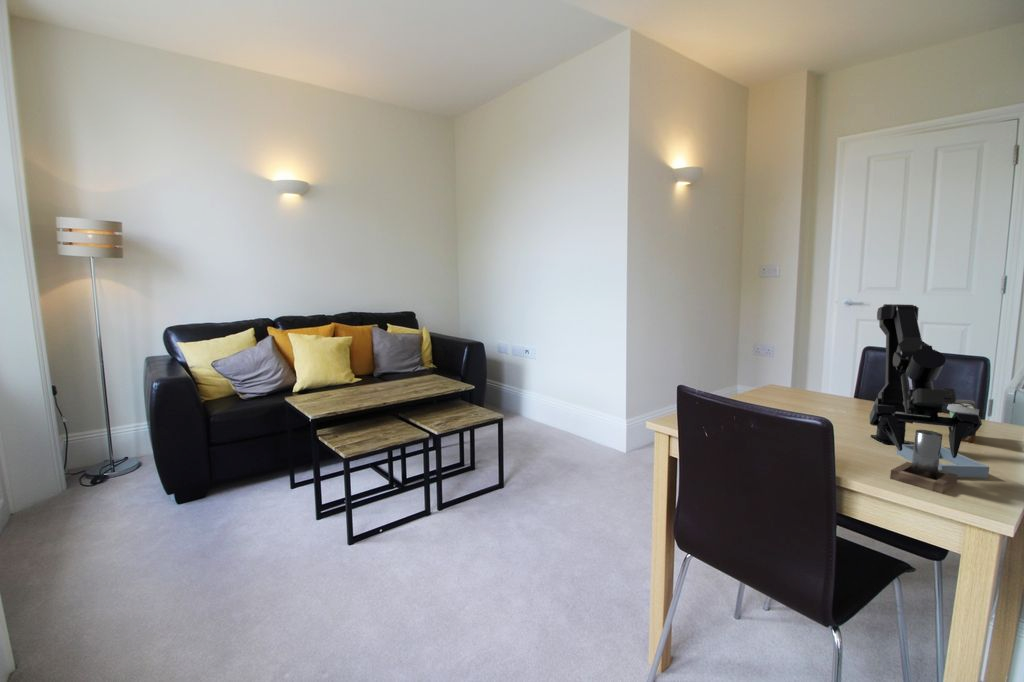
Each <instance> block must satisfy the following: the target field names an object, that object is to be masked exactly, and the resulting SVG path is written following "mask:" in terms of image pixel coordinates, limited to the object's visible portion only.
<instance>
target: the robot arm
mask: <svg viewBox="0 0 1024 682" xmlns="http://www.w3.org/2000/svg"><path fill="white" fill-rule="evenodd" d="M919 310H920V308H919V307H917V305H914V304H903V303H902V304H900V303H899V304H892V303H890V304H887V303H885V304H883V306H880V307H878V308H877V311H876V320H877V321H878V322H879V329H880V330H881V331H882V333H883V334H884V335H885V376H884V377H885V381H884V382H885V383H884V386H883V387H882V389H881V390H880V391H879V392H878V394H877V397H876V399H874V400H875V401H874V404H873V406H872V409H871V411H870V414H869V424H870V425H871V426H874V427H876V434H871V435H870V437H871V439H874V440H876V439H877V440H876V441H878V440H879V442H880V441H881V442H880V443H882V442H883V443H882V444H884V443H885V445H894V446H895V447H896V449H897V448H898V450H899V451H902V444H904V445H911V444H910V443H911V442H909V441H908V440H907V441H906V440H905V438H906V431H907V430H906V427H907V425H906V424H907V423H908V424H913V423H915V424H920V425H921V424H922V425H930V426H937V427H938V426H941V427H948V431H950V434H949V433H948V442H949V450H951V454H952V457H953V458H956V456H957V453H958V454H959V450H960V447H961V444H962V441H961V440H962V439H965V438H967V437H968V436H974V434H975V433H976V434H977V432H978V431H979V429H980V427H981V426H982V425H983V423H982V418H981V416H978V415H977V414H973V413H963V412H955V413H954V415H953V417H952V418H950V416H949V417H947V416H939V414H941V413H942V412H943V407H944V406H946V405H948V404H953V403H955V402H956V400H957V397H956V396H957V395H956V392H955V388H946V387H944V388H943V389H935V388H934V382H933V381H935V382H936V380H937V379H938V377H939V374H940V373H941V371H942V369H943V367H944V366H945V364H946V357H945V356H944V355H943V354H942V352H939V351H938V350H936V349H933V345H930V344H928V343H926V342H924V341H923V339H922V335H921V331H920V326H919V324H918V323H919V322H918V320H919Z"/></svg>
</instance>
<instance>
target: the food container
mask: <svg viewBox="0 0 1024 682" xmlns="http://www.w3.org/2000/svg"><path fill="white" fill-rule="evenodd" d="M975 403H976V400H969V399H956V402H955V403H953V404H947V407H946V410H948V411H949V418H952V417H953V415H954V413H955V412H963V413H973V414H977V415H978V416H979V413H980V409H979V408H977V406H976V404H975ZM979 417H980V416H979ZM948 431H949V430H948ZM949 434H950V431H949V432H948V435H949ZM976 435H977V432H976V433H975V434H974V436H968V437H967V438H965V439H962V440H961V442H963V443H967V442H968V444H973V443H974V444H975V442H976Z"/></svg>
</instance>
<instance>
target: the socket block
mask: <svg viewBox="0 0 1024 682" xmlns="http://www.w3.org/2000/svg"><path fill="white" fill-rule="evenodd" d="M911 466H912V462H911V461H910V462H909V461H905V462H904V463H901V464H899V466H898V465H897V466H896V467H894V468H892V469H891V470H890V477H889V479H890V480H893V481H896V482H900V483H904V484H906V485H910V486H913V487H916V488H920V489H924V490H927V491H930V492H935V493H937V494H941V495H943V493H945V492H946V491H948V490H949V489H952V488H953V487H954V486H956V485H957V482H958V478H959V477H958V475H956V474H952V473H948V472H945V471H941V470H938V473H937V480H933V479H930V478H926V477H922V476H919V475H915V474H912V473H911Z"/></svg>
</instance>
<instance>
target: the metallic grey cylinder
mask: <svg viewBox="0 0 1024 682" xmlns="http://www.w3.org/2000/svg"><path fill="white" fill-rule="evenodd" d="M942 442H943V434H942V433H940V432H937V431H933V430H927V429H917V430H915V435H914V443H913V445H914V450H913V458H912V462H911V463H912V466H911V473H912V474H915V475H919V476H922V477H926V478H930V479H933V480H937V473H938V465H939V463H940V459H941V458H940V450H941V446H942Z"/></svg>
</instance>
